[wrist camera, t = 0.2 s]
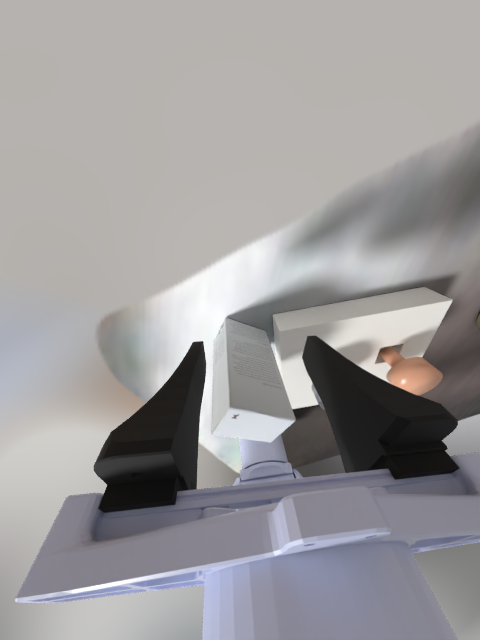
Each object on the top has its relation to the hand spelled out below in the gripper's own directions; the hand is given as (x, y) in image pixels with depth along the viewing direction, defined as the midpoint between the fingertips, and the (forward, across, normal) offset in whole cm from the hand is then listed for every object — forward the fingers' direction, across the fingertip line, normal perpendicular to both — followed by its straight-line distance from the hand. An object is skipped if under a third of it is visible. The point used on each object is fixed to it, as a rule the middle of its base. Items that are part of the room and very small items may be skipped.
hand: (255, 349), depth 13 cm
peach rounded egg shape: (+7, -19, +8) cm, 22 cm away
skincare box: (+10, 0, +7) cm, 12 cm away
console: (+10, -15, +10) cm, 20 cm away
